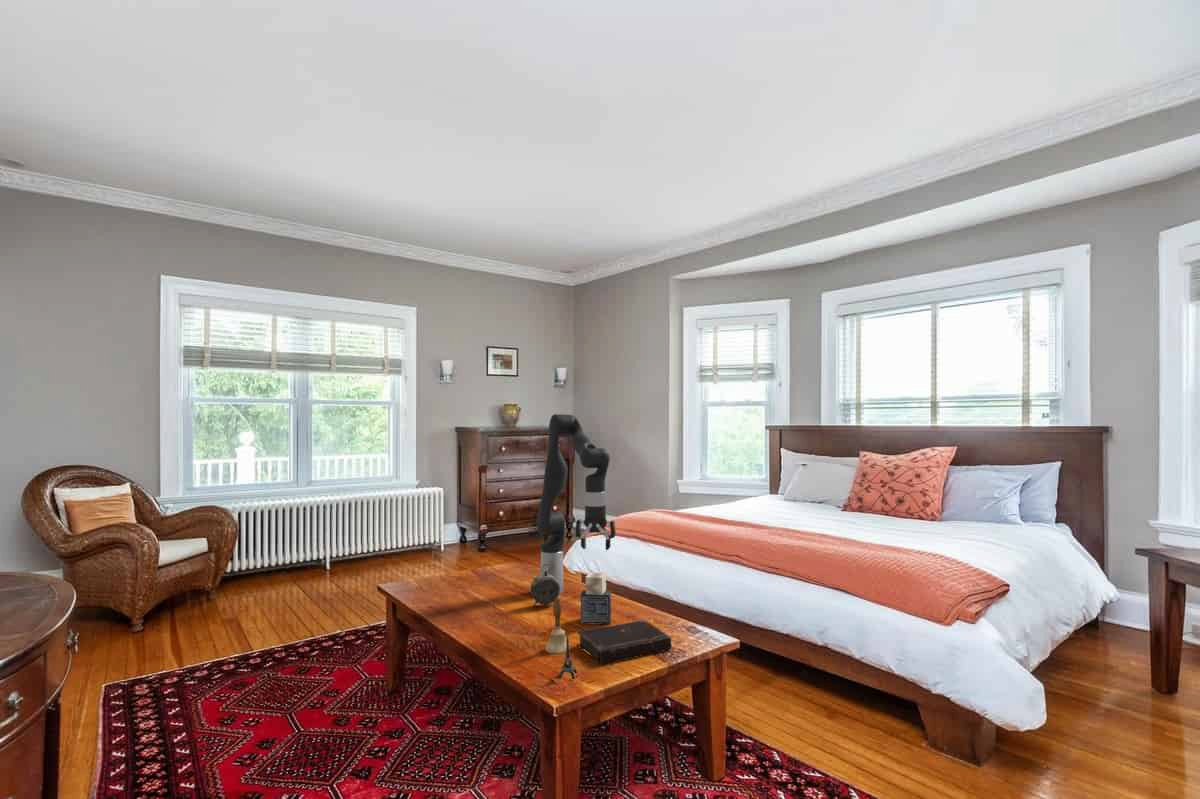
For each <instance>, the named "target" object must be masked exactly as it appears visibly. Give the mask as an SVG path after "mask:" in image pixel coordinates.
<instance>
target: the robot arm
mask: <svg viewBox="0 0 1200 799" xmlns="http://www.w3.org/2000/svg"><path fill="white" fill-rule="evenodd" d="M548 425H549V426H548V439H547V440H548V442H547V444H548V445H547V452H546V453H547V455H546V461H545V468H544V475H543V486H542V493H541V497H540V504H539V509H538V512H537V517H536V530H537V533H538V534H539V535H540V536H550V537H549V538H548V539H547V540H545V541H544V542H542V543H541V545H540V569H539V575H541V574H545V573H544V572H545V571H548V570H549V566H550V570H549V571H548V572H547V574H550V575H552V576H553V577H555V579H556V580H557V581H558V583H559V585H560V593H559V595H561V594H563V593H564V588H565V587H564V545H565V538H566V537H565V535H566V534H565V531H566V520H565V517H564V514H563V512H561V511H557V510H556V511H552V510H553V506H554V504H555V502H556V501H557V499H558V498H559V496H560V494H561V493H562V491H563V490H564V488H565V486H566V484H567V477H568V470H569V469H568V466H567V462H566V460H565V459H564V457H563V455H562V453H561V451H560V447H559V446H560V445H559V441H560V440H559V439H560V438H572V439H571V446H572V448H573V449H574V451H575V452H576V453H577V454H578V456H579V459H580V464H581V466H582V467H583V468H585V469H596V471H595V472H593V473H592V474H588V475H586V477H585V483H584V484H585V492H584V493H585V494H584V519H580V518H578V519H577V520H575V537H577V538H580V547H581V548H582V550H585V549H586V548H587V537H586V536H587V535H588V533H589V532H590V533H596V534H597V533H598V534H599V533H601V534H602V536H604V538H605V551H609V549H610V548H611V540H612V539H615V537H616V521H615V519H613V520H607V510H606V509H607V504H606V502H607V501H606V500H607V498H606V497H607V496H606V476H607V474H608V473H607V472H608V469H609V464H610V460H611V459H610V458H611V457H610V453H609V451H608V449H607V448H603V447H601V448H599V447H598V448H597V447H596V445H595V443H594V442H593V440H591V439H590V438H589V436H587V434H586V433H585V431H584V429H583V427H582V425H581V423H580V421H579V419H578V418H577V417H576V416H575V415H572V414H563V413H561V414H560V413H557V414H556V413H554V414H552V416H551V417H550V420H549V424H548ZM583 524H584V526H585V530H584V531H583V532H582V531H581V530H582V526H583ZM607 525H608V528H609V529H610V533H609V532H608V529H607V528H606V527H607ZM581 532H582V533H581ZM544 564H548V565H549V566H548V565H544ZM543 565H544V566H543ZM542 566H543V568H542ZM541 568H542V569H541ZM542 570H543V572H542Z"/></svg>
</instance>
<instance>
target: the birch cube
mask: <svg viewBox="0 0 1200 799" xmlns="http://www.w3.org/2000/svg"><path fill="white" fill-rule="evenodd" d="M585 590H586V594H593V595H603V593H604V592H605V591H606V590H607V573H603V572H589V573H588V574H587V575H586V576H585Z"/></svg>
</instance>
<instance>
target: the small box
mask: <svg viewBox="0 0 1200 799" xmlns="http://www.w3.org/2000/svg"><path fill="white" fill-rule="evenodd" d="M611 621H612V593H611V589H610V590H609V589H608V590H607V589H606V591H605V592H604V593H603V595H593V594H586V589H582V591H581V592H580V623H581V622H582V623H602V624H601V625H611Z"/></svg>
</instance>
